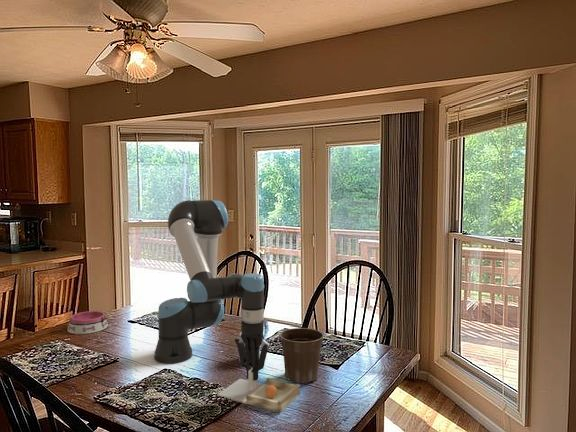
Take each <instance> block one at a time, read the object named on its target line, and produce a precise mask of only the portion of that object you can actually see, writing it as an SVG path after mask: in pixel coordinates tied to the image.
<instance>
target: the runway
mask: <svg viewBox="0 0 576 432" xmlns="http://www.w3.org/2000/svg"><path fill="white" fill-rule="evenodd" d="M266 387H267V386H266V383H260V382H257V381H256V388H255V389H254V390H248V379H243V378H238V379H237V380H236V381H234V382H233V383H232V384H230V385H229V386H227V387H226V388H224V389H223V390H222V391H220V392H218V393H217V394H216V396H217V397H219V396H221V397H220V398H222V397H224V398H223V399H226V398H227V400H230V399H231V401H234V402H238V403H242V404H246V403H247V402H246V395H247V394H251V395H255V396H259V397H263V398H267V399H271V400H275V401H279V400H280V399H281V398H282V397H283V396H284V395H285V394H287V393H288V391H284V390H280V389H277V394H276V396H275V397H273V398H269V397H267V396H266V394H265V389H266ZM300 395H301V392H300V393H299V396H300ZM299 396H298V395H297V396H296V398H294V399H293V400H292V401H291V402H290V403H289V404H288V405H286V406H285V407H284V408H283V409H284V410H285V409H286V408H287V407H288V406H289V405H290V404H292V403H293V402H294V400H296V399H297V398H298V397H299ZM251 404H252V403H251ZM246 405H249V404H248V403H247V404H246ZM256 406H258V405H256ZM256 406H255V405H253V406H252V407H256ZM264 408H266V409H265V410H267V411H269V410H268V408H267V407H263V408H262V406H261V408H260V409H264ZM283 409H282V412H283V411H284V410H283ZM272 410H273V411H272ZM272 410H270V411H272V412H275V413H278V412H279V411H278V410H277V411H275V410H274V409H272ZM282 412H281V411H280V412H279V413H280V414H281V413H282Z"/></svg>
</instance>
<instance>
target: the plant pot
mask: <svg viewBox="0 0 576 432" xmlns="http://www.w3.org/2000/svg"><path fill="white" fill-rule="evenodd" d="M324 336H325V334H324V333H323V332H322V331H320V330H318V329H313V328H309V327H308V328H307V327H296V328H295V327H294V328H288V329H285V330H283V331H281V332H280V333H279V337H280V340H281V347H282V352H283V364H284V377H285V379H286V380H288V381H289V382H290V383H293V384H309V383H310V382H315V381H316V380H318V378H319V367H320V356H321V350H322V345H323V339H324Z"/></svg>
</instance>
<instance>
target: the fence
mask: <svg viewBox="0 0 576 432" xmlns="http://www.w3.org/2000/svg"><path fill="white" fill-rule="evenodd" d="M265 385H266V386H269V385H273V386H275V387H276V389H280V390H284V391H288V393H287V394H285V395H284V396H283V397H282V398H281V399H280V400H279V401H275V400H271V399H267V398H263V397H259V396H255V395H251V394H247V395H246V402H247V403H248V404H247V403H246V405H249V406H252V407H257V408H260V409H265V410H267V409H266V408H263V407H267V408H268V410H267V411H271V410H272V409H274V410H275V411H277V410H278V411H279V412H280V411H281V413H282V412H283V411H285V409H283V408H284V407H285V406H286V405H288V404H289V403H290V402H291V401H292V400H293V399H294V398H296V396H297V395H298V397H299V396H300V395H299V393H300V394H301V383H288V382H284V381H279V380H276V379H271V378H266V383H265ZM296 399H297V398H296ZM293 401H294V400H293ZM293 401H292V402H293ZM292 402H291V403H292ZM251 403H252V404H251ZM291 403H290V404H291ZM290 404H289V405H290ZM253 405H255V406H253ZM256 405H258V406H256ZM289 405H288V406H289ZM261 406H262V408H261ZM282 409H283V411H282ZM275 411H273V410H272V412H275ZM279 412H277V413H279Z"/></svg>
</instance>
